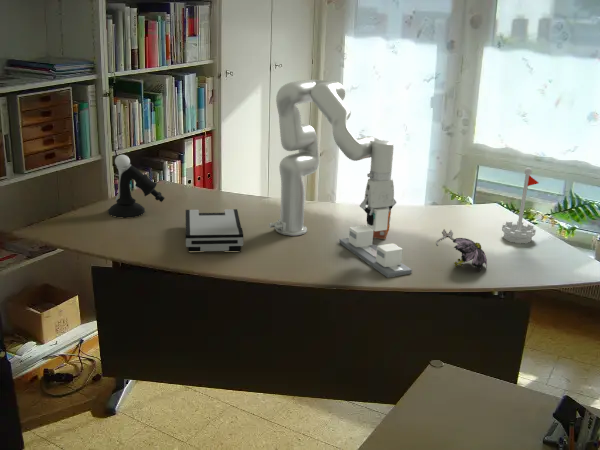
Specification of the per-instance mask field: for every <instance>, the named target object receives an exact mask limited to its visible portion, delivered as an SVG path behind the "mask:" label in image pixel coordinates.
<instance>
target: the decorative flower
mask: <svg viewBox="0 0 600 450" xmlns="http://www.w3.org/2000/svg"><path fill="white" fill-rule="evenodd" d="M452 242H453V243H454V244H456V245H455V246H454V247H453V249H455V250H456V251H458V252H459V253H461V256H460V258H457V261H455V262H453V264H454V267H455V268H458V265H459V267H463V263H465V262H469V261H472V263H471V266H473V267H475V269H478V268H479V272H480V273H481V270H482V267H483V265H485V267H486V270H487V268H488V267H487V266H488V259H487V255H486V253H485V251H484V250H483V249H482V245H481V243H479V242H475V241H473V240H472V239H469V238H466V237H456V238H454V239H453V240H452ZM457 243H460V244H457Z"/></svg>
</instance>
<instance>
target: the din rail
mask: <svg viewBox="0 0 600 450" xmlns="http://www.w3.org/2000/svg"><path fill="white" fill-rule="evenodd" d="M347 239H349V237H347ZM360 248H362V249H363V250H364V251H366V252H367V253H369V254H370V255H372V256H373V257H374V258H376V253H377V251H375V250H374V249H372V248H371V247H369V246H363V247H360ZM389 268H390V269H392V270H393V271H395V272H396V271H402V270H403V269H402V268H400V267H399V266H397V265H396V266H390V267H389Z"/></svg>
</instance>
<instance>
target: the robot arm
mask: <svg viewBox="0 0 600 450" xmlns="http://www.w3.org/2000/svg"><path fill="white" fill-rule="evenodd" d="M345 97H346V90H345V87H344V86H343V85H342V84H341V83H340V82H339V81H336V80H335V81H334V80H321V79H306V80H296V81H290V82H287V83H285V84H283V85H282V86H280V88H279V89H278V91H277V93H276V97H275V104H276V109H277V115H278V123H279V132H280V133H279V134H280V135H279V137H280V144H281V147H282V148H283V150H285V151H286V152H294V151H298V152H296V153H292V154H288V155H286V156H284V157H283V158H282V159H281V161H280V163H279V166H278V167H279V175H280V214H279V215H280V216H279V218H277V220H276V221H275V222H269V223H268V227H269V229H271V228H274V229H275V230H276V231H275V232H277V233H279V234H280V235H284V236H292V237H293V236H301V235H304V234H306V233H307V232H308V227H307V226H306V225H304V222H305V221H304V219H305V202H306V201H305V200H306V199H305V198H306V197H305V196H306V188H305V184H304V181H303V177H306V176H309V175H312V174H314V173H315V172H317V170H318V169H319V166H320V156H319V146H318V145H319V143H318V142H319V141H318V135H317V132H316V130H315V128H314V127H313V126H311V125H310V124H308V123H302V115H301V111H300V110H299V108H298V105H300V104H308V103H314V105H315V106H316V107H317V108H318V110H319V111H320V112H321V113H322V115H323V116H324V118H326V120H327V121H328V122H329V123H330V125H331V129H332V136H333V139H334V142H335V145H336V146H337V147H338V148H339V149H340V151H341V152H342V153H343V155H344V156H345V157H346V158H347V159H349V160H351V161H353V162H355V161H356V162H357V161H360V160H364V159H369V158H370V168H369V169H370V171H369V173H367V175H366V176H367V178H368V179H367V183H366V186H365V192H364V199H363V201H362V202H361V203H360V204H359V207H360V208H361V209H362V210H363V211H364V212H365V213H366V225H367V224H369V225H371V226H372V225H373V215H372V213H373V211H374V208H381V207H386V208H388V209H389V212H390V210H391V211H392V208H393V207H395V205H396V204H397V200H396V199H395V185H394V180H393V178H392V171H393V170H392V169H393V158H394V157H393V155H394V144H393V142H391V141H388V140H384V139H383V140H381V139H378V138H376V137H374V136H369V135H367V136H362V137H358V138H355V136H353V134H352V133H351V131H350V130H349V128H348V126H347V122H348V120H349V119H350V117H351V113H352V112H351V110H350V108H348V106H347V104H345V102H344V100H345ZM370 208H371V209H370ZM389 212H388V213H389Z"/></svg>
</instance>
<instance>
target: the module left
mask: <svg viewBox="0 0 600 450" xmlns="http://www.w3.org/2000/svg"><path fill="white" fill-rule="evenodd" d="M348 231H349V232H348V238H349V243H351V244H352V245H354V246H355V247H363V246H370V245H372V243H373V241H374V240H373V239H374V238H373V230H372V229H371V228H369V227H367V224H366V225H358V226H350V227H349V230H348Z"/></svg>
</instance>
